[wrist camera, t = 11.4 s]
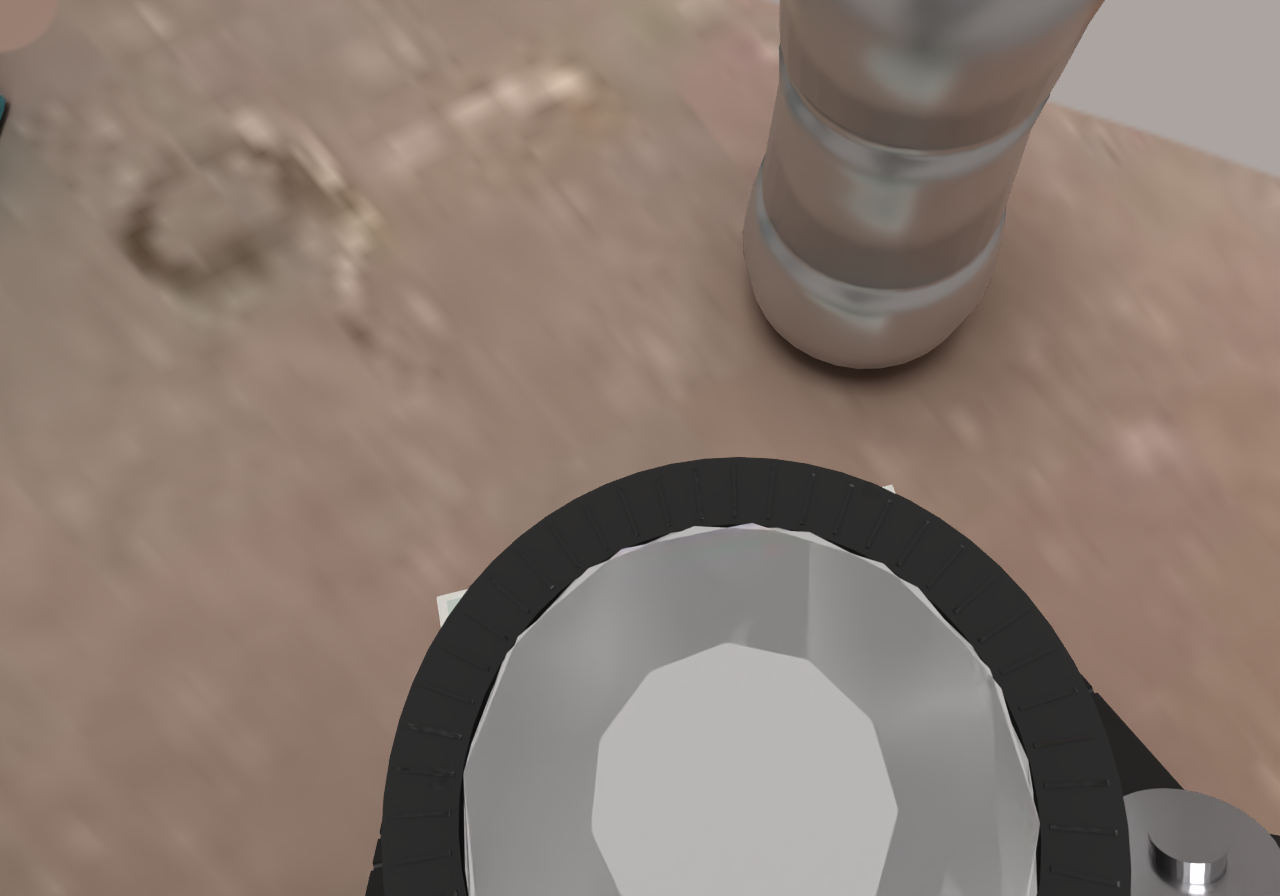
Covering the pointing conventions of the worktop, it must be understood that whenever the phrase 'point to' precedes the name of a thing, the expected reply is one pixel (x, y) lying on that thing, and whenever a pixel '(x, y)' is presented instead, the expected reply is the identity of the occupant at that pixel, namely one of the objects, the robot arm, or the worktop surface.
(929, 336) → the plastic bottle
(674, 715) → the push button
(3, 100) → the game box
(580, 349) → the worktop surface
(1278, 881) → the robot arm
